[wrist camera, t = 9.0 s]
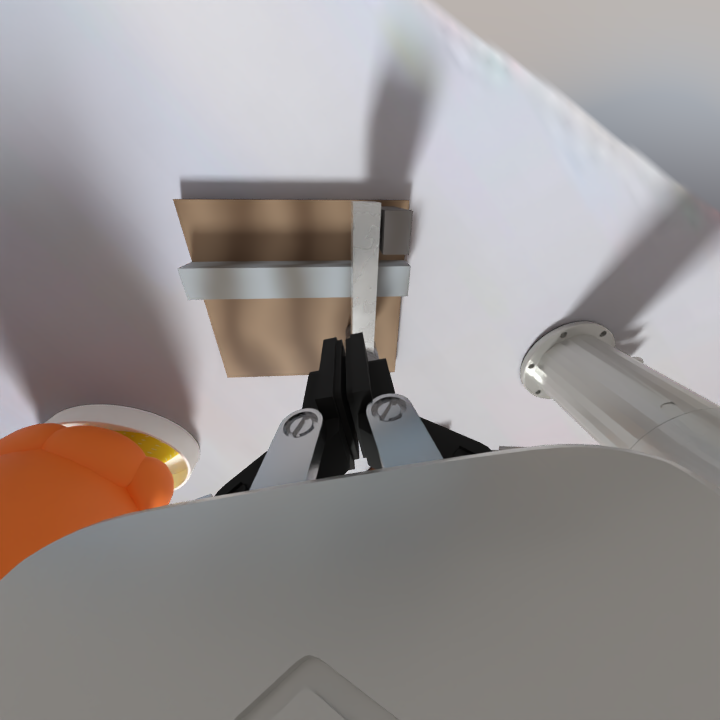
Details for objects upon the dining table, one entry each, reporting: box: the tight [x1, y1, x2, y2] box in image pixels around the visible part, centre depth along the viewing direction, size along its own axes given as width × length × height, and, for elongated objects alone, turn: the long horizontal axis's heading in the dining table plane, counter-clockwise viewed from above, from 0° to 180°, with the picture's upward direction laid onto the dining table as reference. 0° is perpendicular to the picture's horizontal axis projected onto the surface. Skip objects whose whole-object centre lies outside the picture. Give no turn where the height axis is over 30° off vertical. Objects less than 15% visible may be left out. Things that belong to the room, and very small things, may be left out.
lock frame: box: [173, 199, 413, 378], centre depth 28 cm, size 22×20×10 cm
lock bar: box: [344, 201, 381, 361], centre depth 25 cm, size 16×4×5 cm, turn 179°
